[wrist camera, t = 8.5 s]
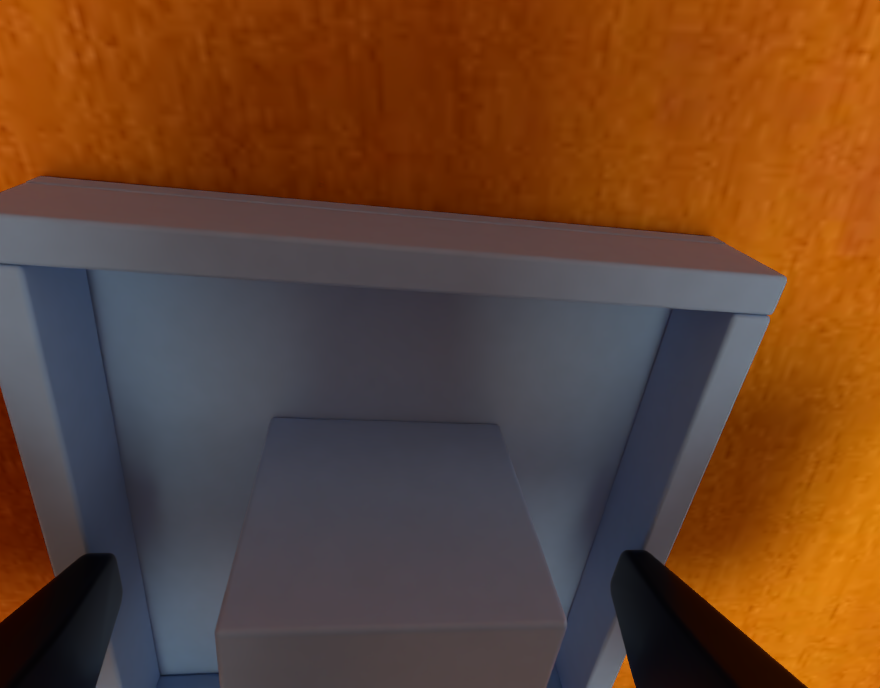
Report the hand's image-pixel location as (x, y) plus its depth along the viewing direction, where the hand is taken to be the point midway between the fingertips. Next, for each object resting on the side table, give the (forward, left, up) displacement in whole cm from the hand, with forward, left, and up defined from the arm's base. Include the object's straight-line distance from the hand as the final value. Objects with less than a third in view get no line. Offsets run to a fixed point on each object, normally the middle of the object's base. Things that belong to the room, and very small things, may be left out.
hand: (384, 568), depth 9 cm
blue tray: (0, 0, -2) cm, 2 cm away
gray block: (0, 0, -2) cm, 2 cm away
